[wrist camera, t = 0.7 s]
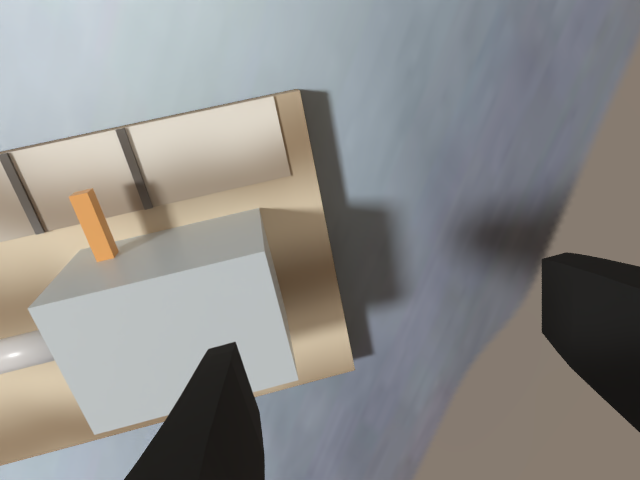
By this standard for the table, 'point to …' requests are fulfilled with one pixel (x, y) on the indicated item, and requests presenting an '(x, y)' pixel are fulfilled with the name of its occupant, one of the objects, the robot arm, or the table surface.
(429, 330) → the table surface
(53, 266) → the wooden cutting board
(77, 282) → the light grey block
